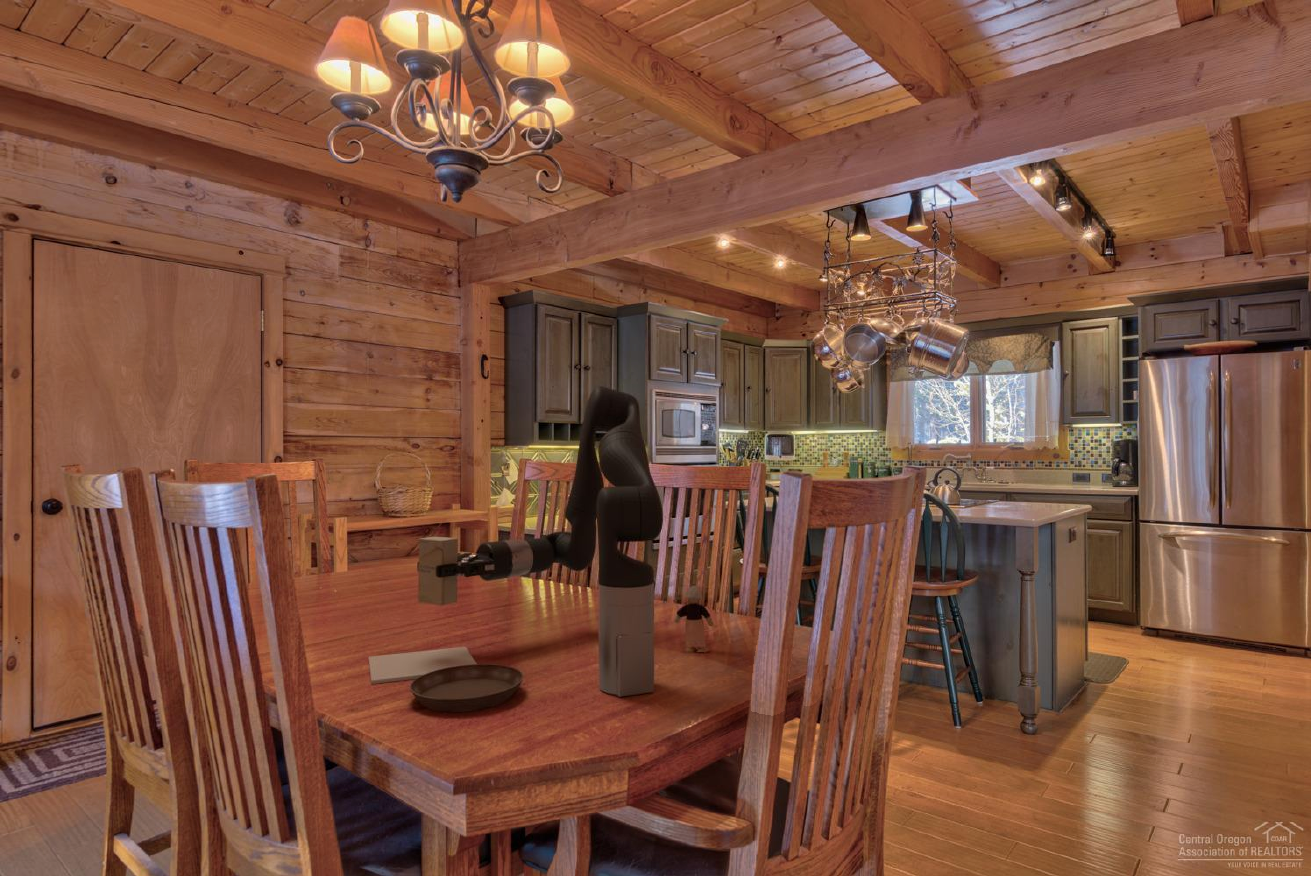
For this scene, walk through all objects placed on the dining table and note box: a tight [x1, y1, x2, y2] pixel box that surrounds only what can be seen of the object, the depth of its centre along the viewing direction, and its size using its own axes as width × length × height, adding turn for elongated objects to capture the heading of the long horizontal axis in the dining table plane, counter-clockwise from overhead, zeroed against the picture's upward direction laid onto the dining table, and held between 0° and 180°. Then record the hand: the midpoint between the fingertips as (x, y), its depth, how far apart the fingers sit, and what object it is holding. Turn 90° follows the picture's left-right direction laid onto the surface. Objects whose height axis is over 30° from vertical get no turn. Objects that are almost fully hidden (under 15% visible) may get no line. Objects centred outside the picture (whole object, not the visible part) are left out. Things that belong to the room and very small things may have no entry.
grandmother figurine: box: [674, 585, 714, 653], centre depth 147 cm, size 8×4×13 cm, turn 84°
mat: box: [368, 646, 477, 685], centre depth 138 cm, size 16×18×1 cm
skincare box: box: [417, 536, 459, 607], centre depth 141 cm, size 6×4×12 cm
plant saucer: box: [409, 663, 524, 713], centre depth 120 cm, size 18×18×3 cm
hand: (427, 569), depth 140 cm, fingers closed on skincare box, 7 cm apart
